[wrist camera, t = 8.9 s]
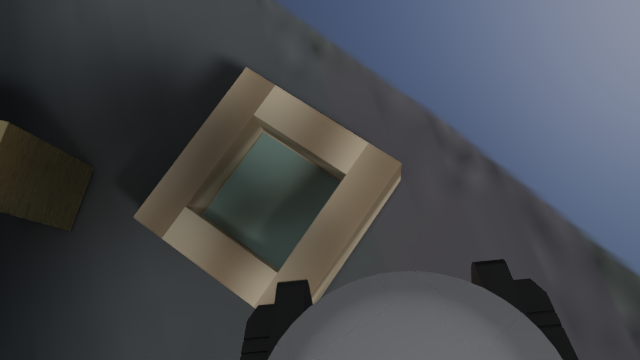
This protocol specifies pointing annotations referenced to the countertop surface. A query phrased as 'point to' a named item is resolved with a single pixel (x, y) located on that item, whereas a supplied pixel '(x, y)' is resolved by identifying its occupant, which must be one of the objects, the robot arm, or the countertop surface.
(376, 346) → the cylinder
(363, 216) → the socket block
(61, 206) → the yellow brown rectangular block
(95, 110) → the countertop surface
